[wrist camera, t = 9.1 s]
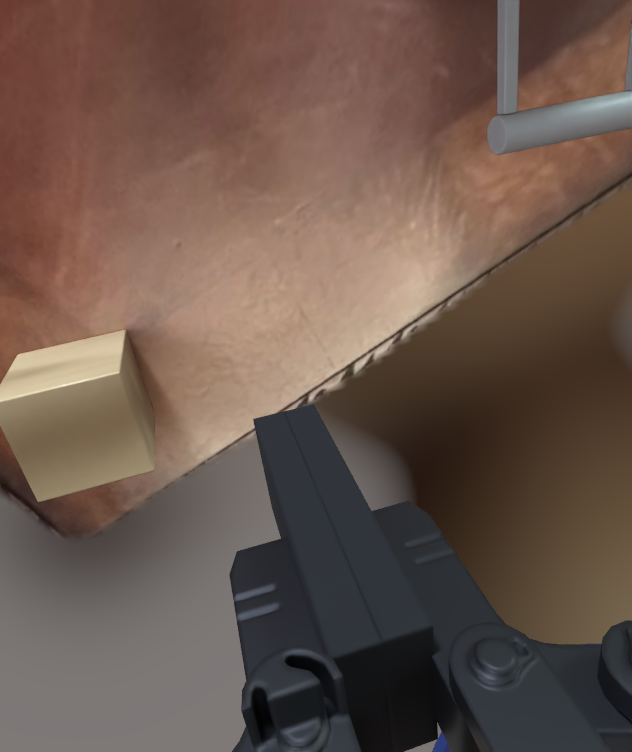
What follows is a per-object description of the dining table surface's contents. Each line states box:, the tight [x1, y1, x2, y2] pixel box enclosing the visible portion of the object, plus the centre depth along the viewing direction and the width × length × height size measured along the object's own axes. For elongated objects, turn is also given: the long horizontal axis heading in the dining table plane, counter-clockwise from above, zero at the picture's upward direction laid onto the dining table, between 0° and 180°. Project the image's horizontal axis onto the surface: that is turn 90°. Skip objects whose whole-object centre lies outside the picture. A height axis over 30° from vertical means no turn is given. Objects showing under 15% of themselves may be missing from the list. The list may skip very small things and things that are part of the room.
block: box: [0, 330, 155, 502], centre depth 25 cm, size 5×5×5 cm
